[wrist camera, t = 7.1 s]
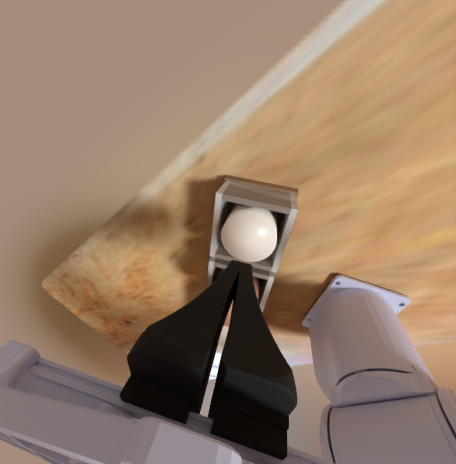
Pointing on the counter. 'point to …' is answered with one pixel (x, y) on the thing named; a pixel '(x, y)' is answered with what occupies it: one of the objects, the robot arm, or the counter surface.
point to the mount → (261, 198)
